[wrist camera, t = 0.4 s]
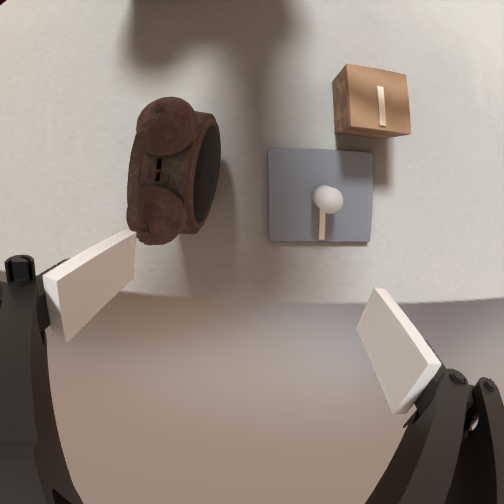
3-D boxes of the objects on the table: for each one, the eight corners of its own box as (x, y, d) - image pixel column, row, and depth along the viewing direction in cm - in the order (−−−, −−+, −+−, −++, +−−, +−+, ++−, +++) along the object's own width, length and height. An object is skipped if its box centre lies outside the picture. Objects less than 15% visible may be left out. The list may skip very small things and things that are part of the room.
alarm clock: (219, 222, 40) (174, 275, 21) (172, 215, 40) (97, 259, 21) (233, 122, 35) (197, 81, 16) (184, 118, 35) (111, 85, 16)
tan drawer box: (332, 81, 32) (346, 63, 24) (382, 88, 32) (406, 74, 24) (334, 133, 35) (351, 125, 27) (385, 138, 34) (411, 133, 26)
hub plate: (267, 149, 36) (267, 146, 30) (370, 153, 35) (387, 152, 29) (269, 239, 40) (269, 252, 34) (367, 239, 39) (381, 251, 33)
